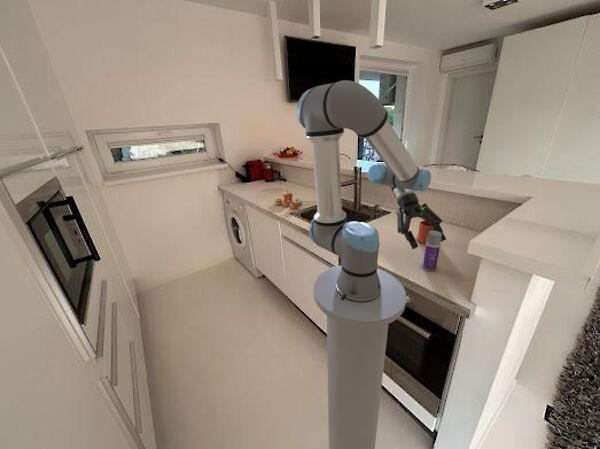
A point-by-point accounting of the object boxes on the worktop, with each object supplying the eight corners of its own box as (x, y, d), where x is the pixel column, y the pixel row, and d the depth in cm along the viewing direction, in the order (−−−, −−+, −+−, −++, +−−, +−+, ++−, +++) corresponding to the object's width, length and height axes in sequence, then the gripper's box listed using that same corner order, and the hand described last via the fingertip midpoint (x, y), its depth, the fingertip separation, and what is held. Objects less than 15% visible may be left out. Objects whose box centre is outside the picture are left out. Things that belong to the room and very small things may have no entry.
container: (427, 271, 93) (433, 236, 87) (419, 265, 97) (425, 231, 92) (438, 270, 94) (445, 234, 88) (430, 264, 98) (436, 229, 92)
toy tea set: (271, 204, 185) (270, 191, 181) (287, 199, 194) (286, 187, 190) (294, 211, 167) (293, 197, 163) (310, 205, 176) (309, 192, 172)
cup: (426, 246, 112) (429, 228, 108) (413, 239, 119) (415, 222, 115) (440, 242, 114) (443, 225, 111) (426, 236, 121) (429, 219, 118)
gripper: (423, 197, 108) (447, 241, 100) (375, 206, 100) (397, 254, 93) (435, 187, 101) (461, 234, 94) (385, 196, 94) (409, 247, 86)
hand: (429, 244), depth 93 cm, fingers open, 13 cm apart
